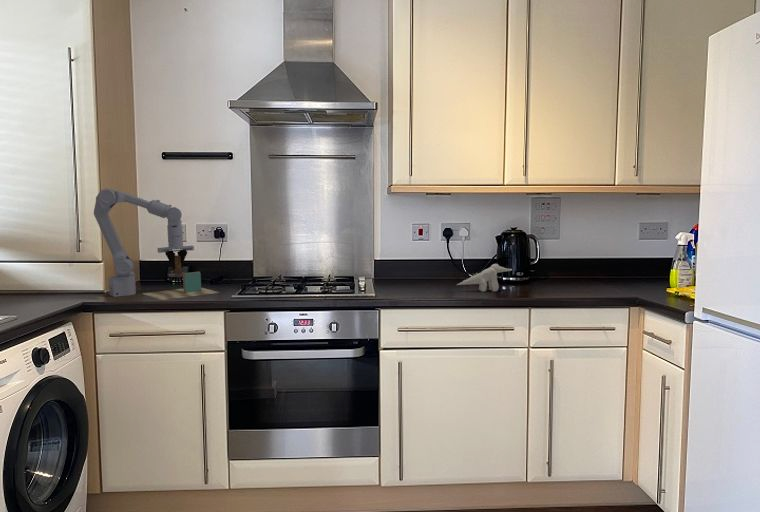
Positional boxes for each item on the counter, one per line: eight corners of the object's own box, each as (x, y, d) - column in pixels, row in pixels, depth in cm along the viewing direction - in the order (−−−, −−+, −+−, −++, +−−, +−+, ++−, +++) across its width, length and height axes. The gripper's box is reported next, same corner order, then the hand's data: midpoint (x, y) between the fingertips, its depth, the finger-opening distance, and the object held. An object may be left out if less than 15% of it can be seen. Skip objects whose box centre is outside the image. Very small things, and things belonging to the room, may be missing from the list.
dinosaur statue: (516, 289, 215) (514, 262, 214) (458, 296, 214) (456, 269, 213) (511, 287, 222) (508, 261, 221) (455, 294, 221) (452, 267, 220)
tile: (185, 292, 218) (184, 273, 217) (183, 292, 219) (182, 273, 218) (201, 290, 222) (200, 271, 222) (200, 290, 223) (199, 271, 223)
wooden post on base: (172, 277, 218) (171, 256, 217) (168, 276, 221) (167, 256, 221) (187, 275, 222) (185, 255, 221) (182, 274, 225) (181, 254, 225)
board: (161, 302, 201) (161, 300, 201) (141, 295, 217) (141, 293, 217) (220, 294, 217) (220, 292, 217) (197, 288, 233) (197, 286, 233)
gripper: (161, 237, 212) (163, 271, 214) (196, 235, 222) (197, 267, 223) (154, 237, 217) (156, 269, 219) (189, 235, 227) (191, 266, 228)
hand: (177, 268), depth 221 cm, fingers closed on wooden post on base, 2 cm apart
